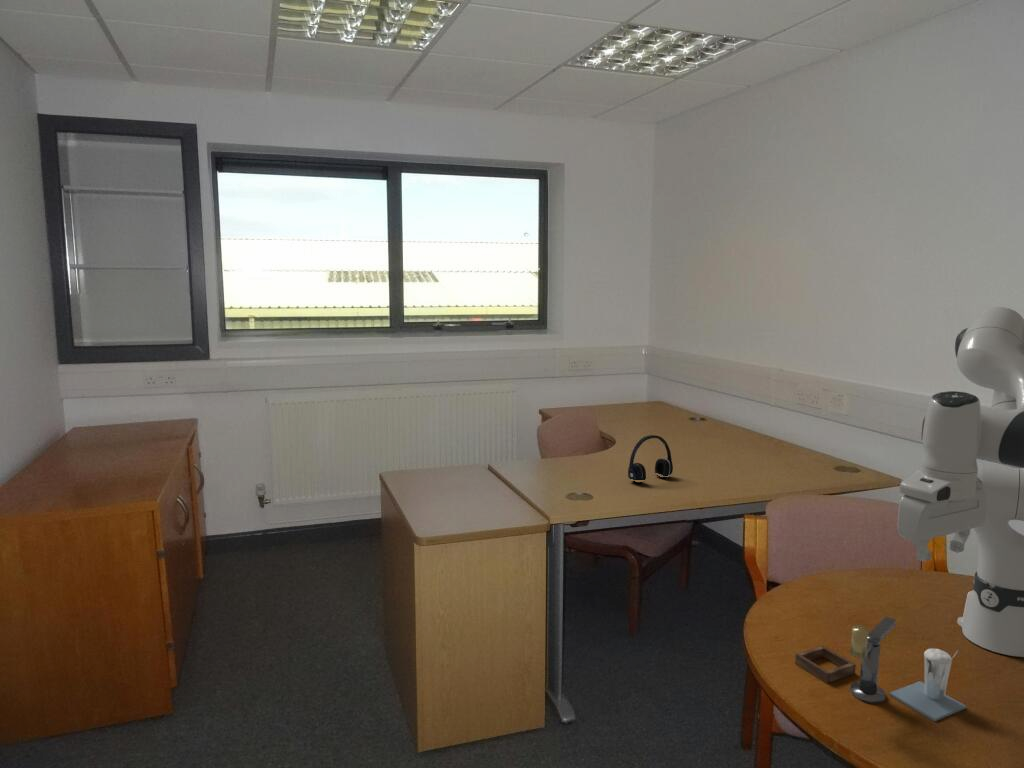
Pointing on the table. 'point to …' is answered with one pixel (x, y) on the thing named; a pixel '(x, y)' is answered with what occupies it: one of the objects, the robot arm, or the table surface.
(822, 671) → the brown square frame
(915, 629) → the table surface
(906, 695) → the pad
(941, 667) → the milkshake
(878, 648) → the latch post
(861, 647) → the lever
